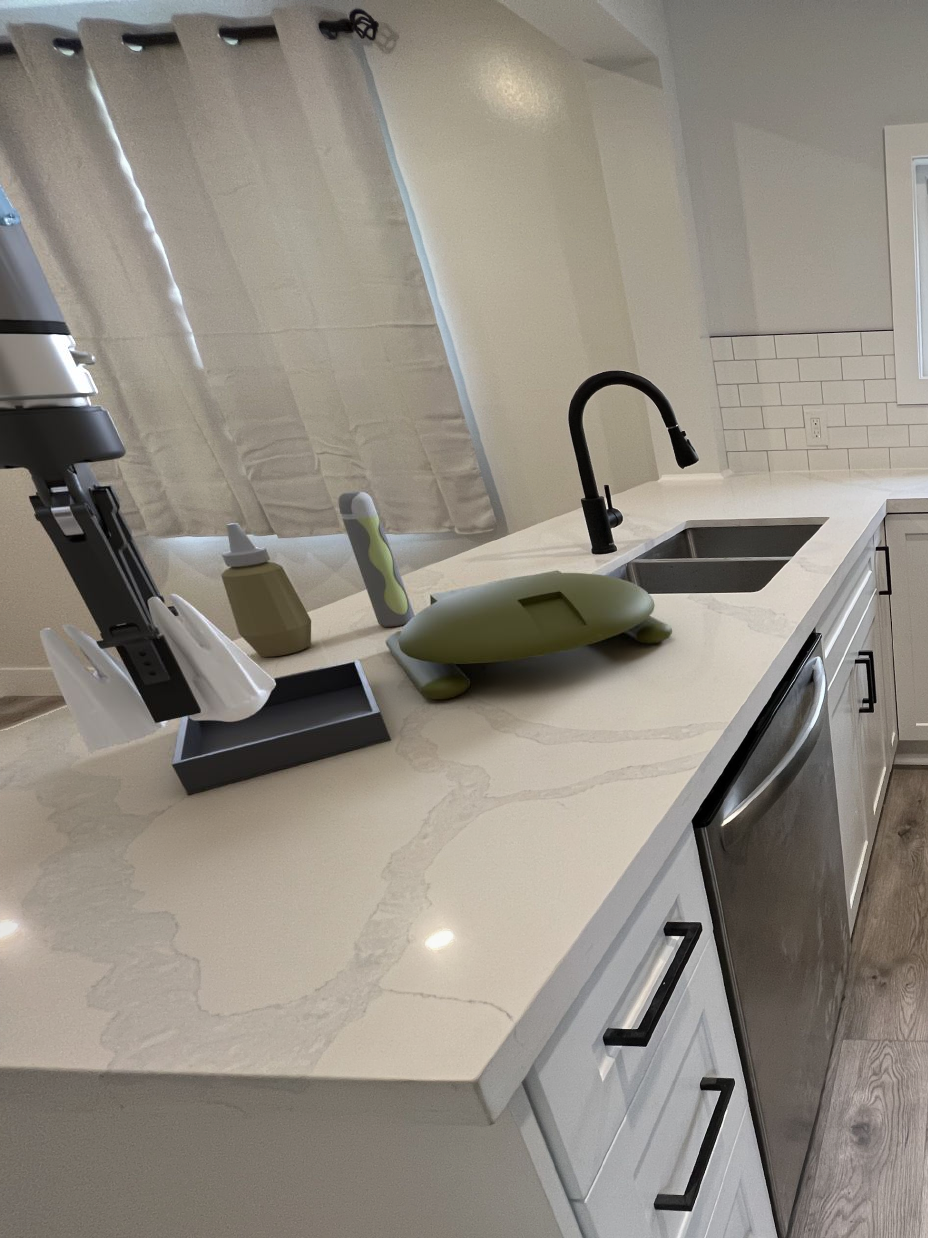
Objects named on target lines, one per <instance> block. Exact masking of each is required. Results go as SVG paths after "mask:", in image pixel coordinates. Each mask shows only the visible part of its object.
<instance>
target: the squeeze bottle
mask: <svg viewBox="0 0 928 1238" xmlns="http://www.w3.org/2000/svg"><path fill="white" fill-rule="evenodd" d="M226 532H227V537H228V544H229V550H228V551H226V552H223V553H221V557H222V559H223V562H224V563H225V565H226V567H228V568H226V569H225V570H224V571H223V572H222V573H221V574H220V577H221V579H222V580H221V581H222V584H223V587H224V589H225V592H226V596H227V599H228V602H229V606H230V609H231V612H232V615H233V616H232V617H233V619H234V623H235V626H236V628H237V632H238V634H239V635H240V637H241V638H242V639H243V640H244V641H245V642H246V643H247V644H248V645H249V646H250V647H251V648H252V649H253V650H254V651H255V652H256V653H257V655H259V656H260V657H279V656H287V655H290V654H294V653H298V652H300V651H303V650H305V649H308V648H309V647H310V646H311V645H312V619H311V617H310V615H309V613H308V612H307V609H306V608H305V606H304V604H303V602H302V600H301V599H300V597H299V595H298V592H297V591H296V589H295V587H294V586H293V584H292V582H291V580H290V578H289V577H288V574H287V573H286V571H285V569H284V568H283V566H282V565H281V564H279V563H277V562H273V561H270V560H271V558H270V555H269V553H268V551H267V548H265V547H261V546H259V547H256V546H255V545H254V543H253V542H252V541H251V540H250V538H249V537H248V536H247V534H246V532H245V531H244V530H243V528H242V527H241V525H240V524H239V523H238V522H232V523H226Z"/></svg>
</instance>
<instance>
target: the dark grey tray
mask: <svg viewBox="0 0 928 1238" xmlns="http://www.w3.org/2000/svg"><path fill="white" fill-rule="evenodd" d="M272 678H273V679H274V680H275V683H276V686H275V687H274V689H273V690H272V691H271V693H270V695H269V697H268V699H267V701H266V702H265V704H264V705H263V706H262V708H261V709H260V710H259V711H257V712H256V713H255V714H253V715H251V716H249V717H247V718H245V719H242V720H239V721H233V722H225V721H218V720H192V719H190V717H189V716H185V717H181V718H180V722H179V727H178V732H177V737H176V742H175V747H174V752H173V757H172V762H171V766H172V768H173V770H174V772H175V774H176V775H177V777H178V779H179V781H180V783H181V785H182V787H183V789H184V791H185V793H186V795H187V796H189V795H194V794H198V793H200V792H204V791H208V790H211V789H215V788H218V787H222V786H227V785H230V784H233V783H237V782H241V781H244V780H248V779H252V778H255V777H259V776H263V775H266V774H270V773H274V772H277V771H282V770H285V769H289V768H292V767H296V766H300V765H304V764H307V763H312V762H314V761H318V760H321V759H322V760H323V759H324V758H330V757H333V756H336V755H340V754H343V753H348V752H351V751H355V750H359V749H362V748H366V747H369V746H374V745H377V744H381V743H385V742H388V741H391V740H392V739H391V736H390V734H389V731H388V729H387V726H386V725H387V724H386V723H385V721H384V717H383V715H382V713H381V710H380V707H379V705H378V703H377V700H376V697H375V695H374V692H373V690H372V688H371V684H370V683H369V681H368V678H367V675H366V672H365V671H364V668H363V665H362V663H361V660H360V659H356V660H352V661H351V660H350V661H346V662H342V663H337V664H333V665H329V666H325V667H319V668H314V669H310V670H305V671H301V672H295V673H291V674H288V675H287V674H286V675H282V676H281V675H280V676H278V677H272Z"/></svg>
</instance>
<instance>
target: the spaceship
mask: <svg viewBox="0 0 928 1238" xmlns="http://www.w3.org/2000/svg"><path fill="white" fill-rule="evenodd" d="M429 598H430V599H429V600H430V602H429V603H430V605H428V606H426V607H425V608H424V609H422V610H420V611H419V612H418V613H416V614H414V615H415V616H414V617H413V618H412V619H411V620H410V621H409V622H408V623H407V624H405V625H403V628H402V629H401V630H398V631H396V632H394V633H392V634H390V635H389V636H387V638H386V640H385V645H386V647H387V648H388V649H389V651H390V653H392V655H393V656H394V658H395V659H396V660H397V662H398V663H399V665H400V666H401V667H402V669H403V670H404V671H405V673H406V674H407V676H408V677H409V678H410V680H411V681H412V683H413V684H414V685H415V687H416V688H417V689H418V691H419V692H420V694H421V695H422V696H423V697H426V698H428V699H430V700H431V699H432V700H446V699H452V698H454V697H457V696H459V695H461V694H463V693H464V692H466V691H467V690H468V689H469V687H470V684H471V683H470V679H469V677H467V676H466V674H464V672H463V671H462V670H461V669H460V668H459V667H458V666H457V665H456V664H463V665H465V664H485V663H486V664H487V663H497V662H506V661H515V660H516V661H517V660H523V659H529V658H535V657H541V656H548V655H551V654H555V653H561V652H565V651H568V650H569V651H570V650H574V649H578V648H581V647H583V646H584V647H585V646H588V645H591V644H595V643H598V642H602V641H604V640H607V639H609V638H612V637H615V636H617V635H620V634H622V633H624V634H625V635H627V636H629V637H631V638H632V639H634V640H636V641H637V642H640V643H643V644H651V645H652V644H659V643H661V642H664V641H666V640H667V639H669V638H671V635H672V634H673V628H671V626H670V625H668V624H667V623H665V622H663V621H661V620H659V619H658V618H655V617H653V616H651V615H652V614H653V613H654V610H655V606H656V605H655V601H654V599H653V597H652V596H651V595H650V594H649V592H647V591H646V590H645V588H643V587H641V586H639V585H637V584H635V583H633V582H631V581H628V580H626V579H622V578H618V577H613V576H609V575H604V574H594V573H583V572H562V571H559V570H558V569H557V570H552V571H547V572H542V573H535V574H530V575H523V576H522V575H521V576H515V577H511V578H504V579H500V580H495V581H491V582H487V583H483V584H478V585H474V586H467V587H463V588H457V589H452V590H446V591H441V592H436V593H431V594H430V595H429Z"/></svg>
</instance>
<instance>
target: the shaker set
mask: <svg viewBox="0 0 928 1238" xmlns="http://www.w3.org/2000/svg"><path fill="white" fill-rule="evenodd" d="M167 597H168V599H169V601H170V603H171V605H172V606H174V607H175V609H176V610H177V612H178V614H179V616H180V617H181V620H179V619H178V618H177V616H174V615H173V613H172V612H171V611H170V610H169V609H168V608H167V607H168V606H167V605H166V603H165V604H164V603H163V602H162V601H161V600H160V599H159V598H158V597H151V598H150V599H149V600H148V606H149V610H150V614H151V617H152V620H153V622H154V625H155V627H156V628H158V629H159V632H160V634H159V636H161V635H164V636H165V638H166V640H167V642H168V644H169V646H170V648H171V650H172V652H173V654H174V656H175V658H176V660H177V662H178V664H179V666H180V668H181V671H182V673H183V675H184V677H185V679H186V681H187V683H188V685H189V687H190V689H191V691H192V693H193V695H194V697H195V699H196V701H197V703H198V705H199V707H200V709H201V713H198V714H194V715H189V717H190V719H192V720H218V721H225V722H233V721H239V720H242V719H245V718H247V717H249V716H251V715H253V714H255V713H256V712H257V711H259V710H260V709H261V708H262V706H263V705H264V704H265V702H266V701H267V699H268V697H269V695H270V693H271V691H272V690H273V689H274V687H275V686H276V683H275V680H274V679H273V678H274V677H271V676H270V675H269V674H268V673H267V672H266V671H264V670H263V668H262V667H260V666H259V664H257V663H256V662H255V661H254V660H253V659H252V658H251V657H249V655H247V654H246V653H245V652H244V651H243V650H242V649H241V648H240V647H239V646H237V644H235V643H234V641H232V639H230V638H229V637H228V636H226V635H225V633H223V632H222V631H221V630H220V629H219V628H218V627H216V626H215V625H214V624H213V623H212V622H211V621H210V620H209V619H208V618H206V617H205V616H204V615H203V614H202V613H201V612H199V611H198V609H196V607H194V606H193V605H192V604H190V603H189V602H188V601H187V600H185V599H184V598H182V597H181V596H180V595H178V594H176V593H169V594H168V595H167ZM62 629H63V631H64V632H65V634H67V636H68V637H69V638H70V640H71V641H72V642H73V643H74V645H75V646H76V647H77V649H78V650H79V651H80V653H81V654H82V655H83V656H84V657H85V658H86V659H87V661H88V662H89V663H90V665H91V666H92V667H93V669H94V671H93V673H92V671H90V669H89V668H88V667H87V666H86V665H85V664H84V662H82V660H81V658H79V657H78V656H77V654H76V653H75V652H74V651H73V650H72V648H70V647H69V645H68V644H67V643H66V642H65V641H64V640H63V639H62V638H61V637H60V636H59V635H58V634H57V632H55V631H54V630H53V629H52V628H51V627H45V628H43V629H41V630H40V631H39V636H40V640H41V643H42V647H43V649H44V652H45V655H46V658H47V661H48V664H49V666H50V669H51V671H52V673H53V676H54V678H55V680H56V683H57V685H58V688H59V690H60V692H61V694H62V697H63V699H64V702H65V704H66V706H67V708H68V710H69V712H70V715H71V717H72V720H73V722H74V723H75V725H76V727H77V730H78V732H79V735H80V737H81V739H82V742H83V743H84V744H85V746H86V749H87V753H90V754H94V753H96V752H97V751H99V750H102V749H106V748H110V747H112V746H113V747H114V746H118V745H123V744H129V743H131V742H133V741H136V740H140V739H142V738H146V737H147V736H150V735H152V734H154V733H156V732H157V731H159V730H161V729H163V728H165V727H166V724H167V722H171V720H167V721H163V722H159V723H155V722H154V720H153V718H152V716H151V714H150V712H149V710H148V708H147V706H146V704H145V703H144V701H143V699H142V697H141V695H140V693H139V691H138V689H137V687H136V686H135V684H134V682H133V680H132V678H131V676H130V674H129V672H128V670H127V668H126V667H125V665H124V663H123V661H122V660H121V659H119V658H118V657H116V655H114V654H113V653H111V652H110V651H109V650H107V648H105V649H101V648H100V647H99V646H98V644H97V642H96V641H97V640H95V639H94V638H92V637H90V636H89V635H88V634H86V633H85V632H84V631H82V630H81V629H79V628H77V627H76V626H74V625H71V624H68V623H67V624H63V625H62Z"/></svg>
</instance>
